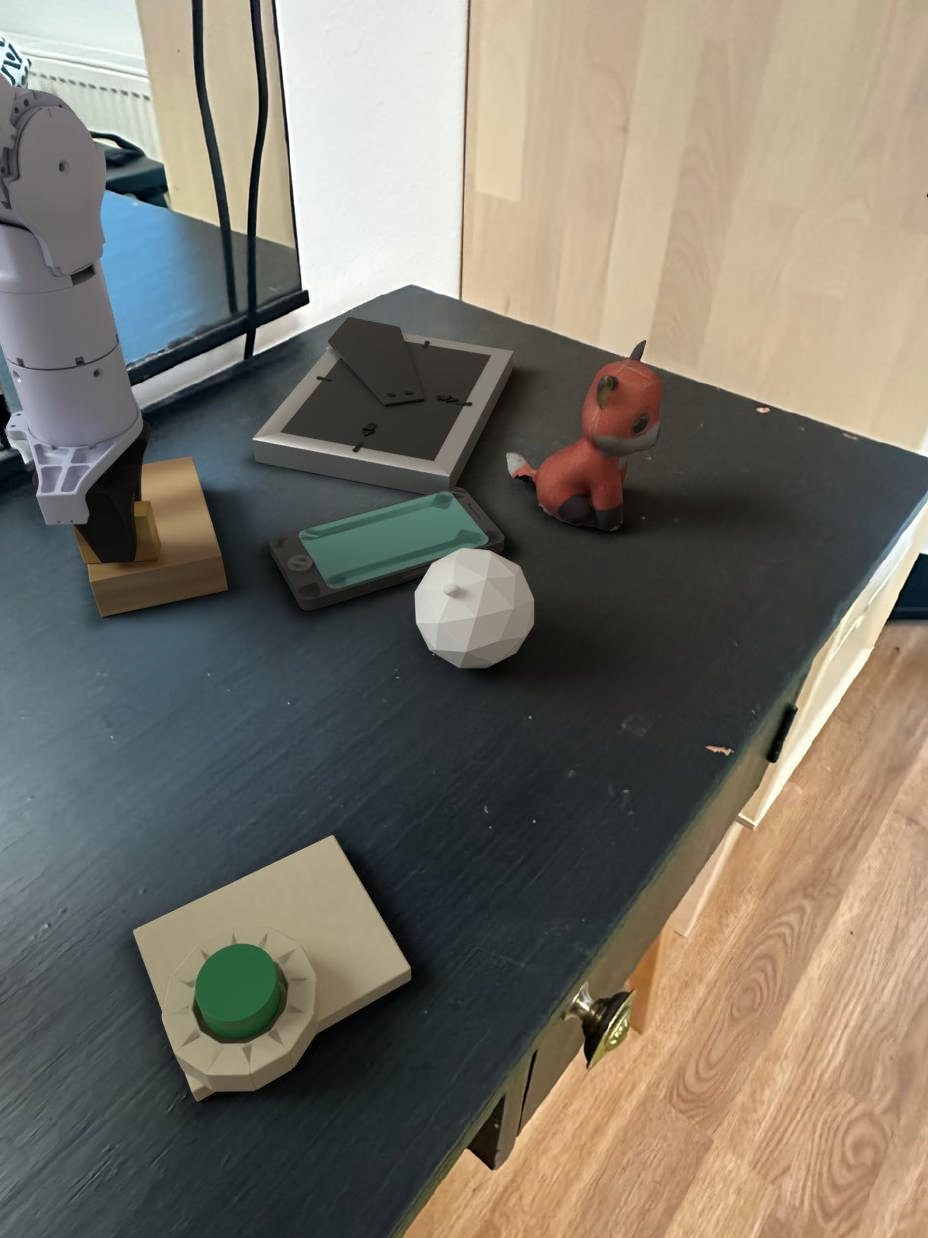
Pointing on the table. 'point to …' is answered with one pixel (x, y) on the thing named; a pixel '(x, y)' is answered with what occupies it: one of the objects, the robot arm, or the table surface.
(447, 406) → the picture frame
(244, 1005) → the release button
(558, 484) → the stuffed fox
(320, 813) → the table surface
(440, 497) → the smartphone
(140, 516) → the thumb turn
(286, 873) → the box
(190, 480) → the brown flat block
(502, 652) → the ornament
